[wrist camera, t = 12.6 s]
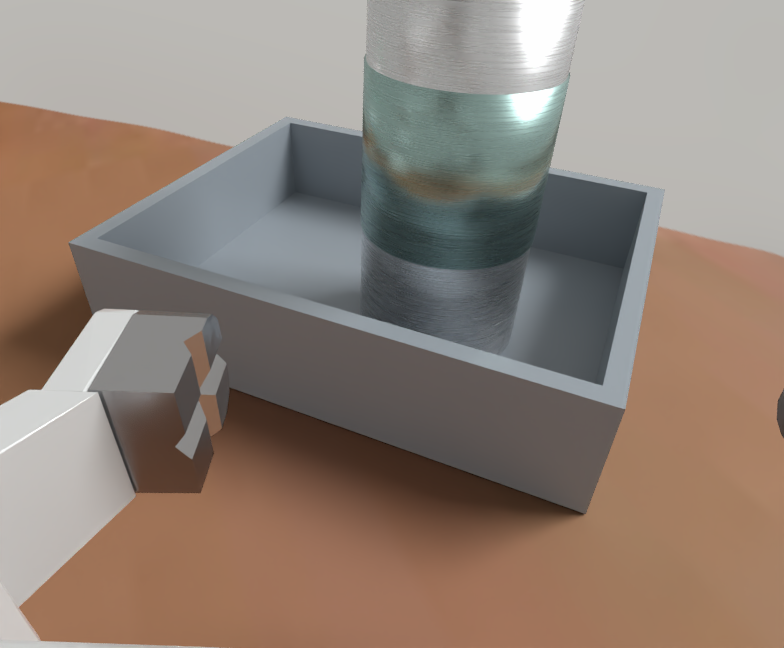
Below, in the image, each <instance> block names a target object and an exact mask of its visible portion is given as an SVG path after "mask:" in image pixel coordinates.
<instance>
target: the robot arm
mask: <svg viewBox="0 0 784 648" xmlns="http://www.w3.org/2000/svg"><path fill="white" fill-rule="evenodd" d="M221 340H222V336H221V331H220V327H219V322H218V319H217V318H216V317H215V316H214V315H213V314H202V313H184V312H167V311H149V310H140V311H138V310H125V309H102V310H100V311H97V312H95V313H94V314H93V316H92V317H91V319H90V320H89V321H88V323H87V324H86V326H85V327H84V329H83V330H82V332H81V333H80V334H79V336H78V337H77V339H76V340H75V342H74V343H73V345H72V346H71V347H70V349H69V350H68V352H67V353H66V355H65V356H64V357H63V359H62V360H61V362H60V363H59V365H58V366H57V368H56V369H55V370H54V372H53V373H52V375H51V376H50V378H49V379H48V381H47V382H46V383H45V385H44V386H43V388H42V389H41V390H27V391H26V392H24V393H22V394H20V395H18V396H17V397H15V398H13V399H11V400H9V401H8V402H6V403H4V404H2V405H0V648H217V647H189V646H161V645H133V644H104V643H76V642H48V641H40V638H39V636H38V635H37V633H36V632H35V630H34V629H33V627H32V626H31V625H30V623H29V622H28V620H27V619H26V617H25V616H24V614H23V613H22V612H21V610H20V609H19V606H20V605H21V604H22V603H23V602H25V601H26V600H27V599H28V598H29V597H30V596H31V595H32V594H33V593H34V592H35V591H36V590H37V589H38V588H39V587H40V586H41V585H43V584H44V583H45V582H46V581H47V580H48V579H49V578H50V577H51V576H52V575H53V574H54V573H55V572H56V571H57V570H58V569H59V568H61V567H62V566H63V565H64V564H65V563H66V562H67V561H68V560H69V559H70V558H71V557H72V556H73V555H74V554H75V553H76V552H77V551H79V550H80V549H81V548H82V547H83V546H84V545H85V544H86V543H87V542H88V541H89V540H90V539H91V538H92V537H93V536H94V535H95V534H97V533H98V532H99V531H100V530H101V529H102V528H103V527H104V526H105V525H106V524H107V523H108V522H109V521H110V520H111V519H112V518H113V517H115V516H116V515H117V514H118V513H119V512H120V511H121V510H122V509H123V508H124V507H125V506H126V505H127V504H128V503H129V502H130V501H131V500H133V499H134V498H135V497H136V494H135V493H201V491H202V488H203V484H204V481H205V478H206V475H207V472H208V469H209V466H210V463H211V460H212V457H213V454H214V452H213V447H212V442H211V438H210V437H211V436H213V435H214V434H215V433H217V432H218V431H219V430H220V429H222V427H223V423H224V420H225V417H226V413H227V407H228V400H229V374H228V368H227V363H226V362H225V361H224V360H223V359H222V358H221V357H220V356H219V355H218V354H216V353H217V351H218V348H219V345H220V343H221ZM777 422H778V425H779V428H780V432H781V435H782V436H783V438H784V390H783V392H782V394H781V396H780V398H779V400H778V407H777Z"/></svg>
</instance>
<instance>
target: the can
mask: <svg viewBox="0 0 784 648" xmlns="http://www.w3.org/2000/svg"><path fill="white" fill-rule="evenodd" d="M584 1H585V0H367V40H366V55H365V57H364V91H363V93H364V94H363V133H362V176H361V227H362V240H361V280H360V315H362V316H365V317H369V318H372V319H375V320H379V321H382V322H386V323H389V324H393V325H396V326H399V327H403V328H406V329H410V330H413V331H417V332H420V333H423V334H427V335H430V336H434V337H437V338H441V339H444V340H447V341H451V342H454V343H458V344H461V345H465V346H468V347H471V348H475V349H478V350H482V351H485V352H489V353H492V354H495V355H500V354H501V353H502V352H503V351H504V349H505V348H506V347H507V345H508V343H509V342H510V338H511V335H512V330H513V326H514V321H515V317H516V312H517V307H518V303H519V298H520V294H521V289H522V285H523V280H524V275H525V271H526V266H527V262H528V257H529V253H530V248H531V245H532V244H533V241H534V237H535V233H536V228H537V224H538V219H539V215H540V210H541V206H542V201H543V196H544V192H545V187H546V183H547V178H548V174H549V169H550V165H551V160H552V156H553V151H554V147H555V142H556V137H557V133H558V128H559V124H560V119H561V115H562V110H563V106H564V101H565V96H566V92H567V87H568V83H569V78H570V73H569V70H570V65H571V61H572V56H573V51H574V47H575V42H576V38H577V33H578V29H579V23H580V19H581V15H582V10H583V6H584Z"/></svg>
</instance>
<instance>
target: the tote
mask: <svg viewBox="0 0 784 648" xmlns="http://www.w3.org/2000/svg"><path fill="white" fill-rule="evenodd" d="M362 133H363V131H358V130H352V129H346V128H342V127H337V126H332V125H326V124H321V123H316V122H311V121H305V120H300V119H295V118H289V117H285V118H283V119H282V120H280V121H278V122H276V123H275V124H273V125H271V126H269V127H268V128H266V129H264V130H262V131H261V132H259V133H257V134H256V135H254V136H252V137H250V138H249V139H247V140H245V141H243V142H242V143H240V144H238V145H236V146H235V147H233V148H231V149H229V150H228V151H226V152H224V153H223V154H221V155H219V156H217V157H216V158H214V159H212V160H210V161H209V162H207V163H205V164H203V165H202V166H200V167H198V168H197V169H195V170H193V171H191V172H190V173H188V174H186V175H184V176H183V177H181V178H179V179H177V180H176V181H174V182H172V183H171V184H169V185H167V186H165V187H164V188H162V189H160V190H158V191H157V192H155V193H153V194H152V195H150V196H148V197H146V198H145V199H143V200H141V201H139V202H138V203H136V204H134V205H132V206H131V207H129V208H127V209H126V210H124V211H122V212H120V213H119V214H117V215H115V216H113V217H112V218H110V219H108V220H106V221H105V222H103V223H101V224H100V225H98V226H96V227H94V228H93V229H91V230H89V231H87V232H86V233H84V234H82V235H80V236H79V237H77V238H75V239H74V240H72V241H70V242H68V243H69V246H70V249H71V252H72V255H73V258H74V261H75V264H76V267H77V270H78V273H79V276H80V279H81V282H82V285H83V288H84V290H85V293H86V296H87V299H88V302H89V305H90V308H91V311H92V314H94V313H95V312H97V311H100V310H102V309H125V310H138V311H140V310H149V311H167V312H184V313H202V314H213V315H214V316H215V317H216V318H217V319H218V322H219V327H220V331H221V336H222V340H221V343H220V345H219V348H218V351H217V353H216V354H218V355H219V356H220V357H221V358H222V359H223V360H224V361H225V362H226V363H227V368H228V374H229V387H230V388H233V389H236V390H238V391H241V392H244V393H247V394H250V395H252V396H255V397H258V398H261V399H264V400H266V401H269V402H272V403H275V404H278V405H280V406H283V407H286V408H289V409H292V410H295V411H297V412H300V413H303V414H306V415H309V416H311V417H314V418H317V419H320V420H323V421H325V422H328V423H331V424H334V425H337V426H339V427H342V428H345V429H348V430H351V431H354V432H356V433H359V434H362V435H365V436H368V437H370V438H373V439H376V440H379V441H382V442H384V443H387V444H390V445H393V446H396V447H398V448H401V449H404V450H407V451H410V452H413V453H415V454H418V455H421V456H424V457H427V458H429V459H432V460H435V461H438V462H441V463H443V464H446V465H449V466H452V467H455V468H457V469H460V470H463V471H466V472H469V473H472V474H474V475H477V476H480V477H483V478H486V479H488V480H491V481H494V482H497V483H500V484H502V485H505V486H508V487H511V488H514V489H516V490H519V491H522V492H525V493H528V494H531V495H533V496H536V497H539V498H542V499H545V500H547V501H550V502H553V503H556V504H559V505H561V506H564V507H567V508H570V509H573V510H575V511H578V512H581V513H584V514H586V512H587V509H588V506H589V504H590V501H591V498H592V496H593V493H594V490H595V488H596V485H597V483H598V480H599V477H600V475H601V472H602V469H603V467H604V464H605V461H606V459H607V456H608V454H609V451H610V448H611V446H612V443H613V440H614V438H615V435H616V432H617V430H618V427H619V424H620V422H621V419H622V417H623V414H624V411H625V408H626V402H627V397H628V391H629V385H630V380H631V374H632V369H633V363H634V358H635V352H636V346H637V341H638V335H639V330H640V324H641V319H642V313H643V308H644V302H645V296H646V291H647V285H648V280H649V274H650V269H651V263H652V257H653V252H654V246H655V241H656V235H657V230H658V223H659V218H660V213H661V207H662V201H663V196H664V191H665V190H664V189H659V188H654V187H649V186H643V185H638V184H633V183H628V182H623V181H617V180H612V179H607V178H601V177H597V176H592V175H586V174H581V173H576V172H570V171H566V170H560V169H555V168H550V169H549V174H548V178H547V183H546V187H545V192H544V196H543V201H542V206H541V210H540V215H539V219H538V224H537V228H536V233H535V237H534V241H533V244H532V245H531V248H530V253H529V257H528V262H527V266H526V271H525V275H524V280H523V285H522V289H521V294H520V298H519V303H518V307H517V312H516V317H515V321H514V326H513V330H512V335H511V338H510V342H509V343H508V345H507V347H506V348H505V349H504V351H503V352H502V353H501V354H500V355H495V354H492V353H489V352H485V351H482V350H478V349H475V348H471V347H468V346H465V345H461V344H458V343H454V342H451V341H447V340H444V339H441V338H437V337H434V336H430V335H427V334H423V333H420V332H417V331H413V330H410V329H406V328H403V327H399V326H396V325H393V324H389V323H386V322H382V321H379V320H375V319H372V318H369V317H365V316H362V315H360V280H361V240H362V227H361V176H362Z"/></svg>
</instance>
